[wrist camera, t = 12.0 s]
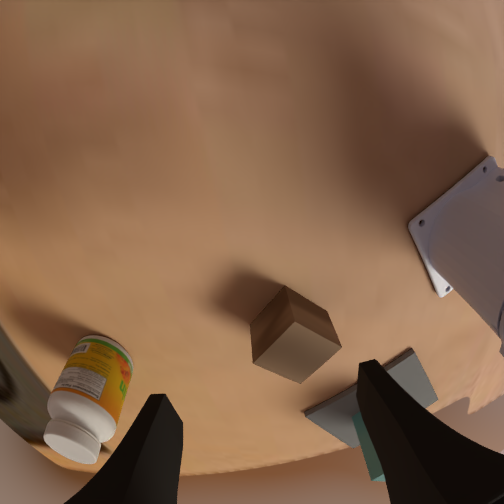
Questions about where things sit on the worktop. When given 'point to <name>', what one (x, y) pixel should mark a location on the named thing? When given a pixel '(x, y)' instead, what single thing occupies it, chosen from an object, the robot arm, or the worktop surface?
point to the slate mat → (345, 404)
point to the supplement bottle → (88, 398)
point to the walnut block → (293, 336)
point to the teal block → (368, 449)
